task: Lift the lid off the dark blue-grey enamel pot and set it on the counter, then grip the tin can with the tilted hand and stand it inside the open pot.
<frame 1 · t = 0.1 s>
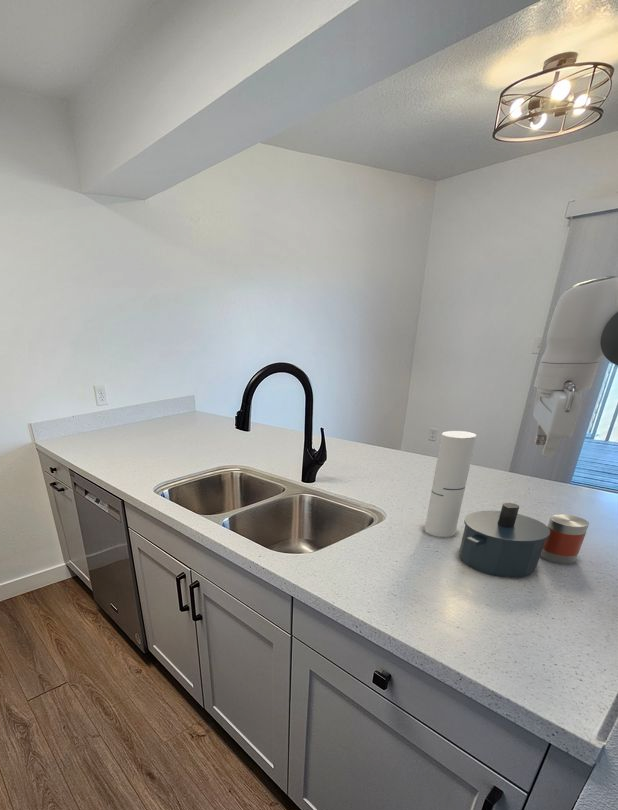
hand: (543, 450, 88), 25 cm above the worktop, tool pointing down, fingers open, 8 cm apart
can: (557, 556, 98), on the worktop
cylindrical container: (439, 531, 112), on the worktop
pot lid: (505, 526, 94), point 8 cm above the worktop, touching pot
pot: (495, 561, 97), on the worktop
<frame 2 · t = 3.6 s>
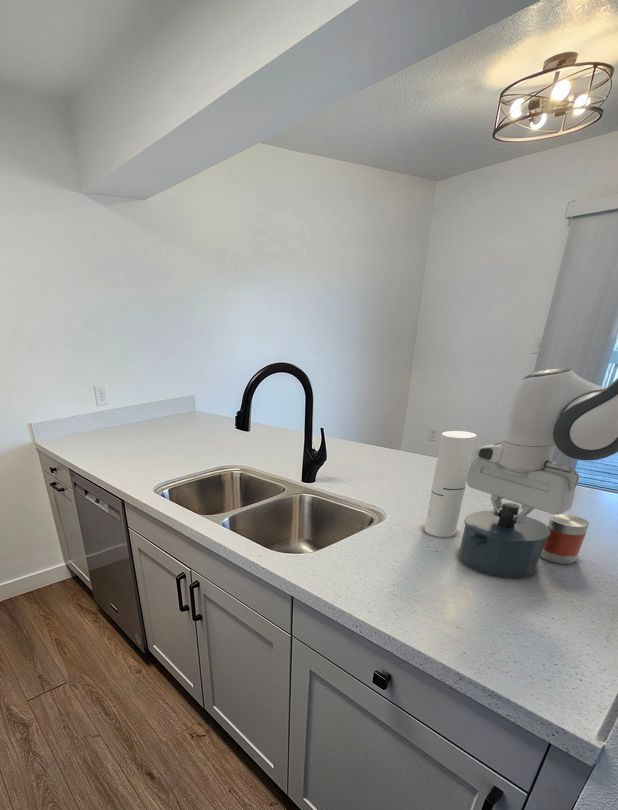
hand: (507, 518, 93), 10 cm above the worktop, tool pointing down, fingers closed on pot lid, 3 cm apart
pot lid: (505, 526, 94), point 9 cm above the worktop, touching gripper, pot
everything else where it was.
when the fingers open (2 cm above the worktop, at t = 11.5 s): pot lid stays where it is, point 1 cm above the worktop.
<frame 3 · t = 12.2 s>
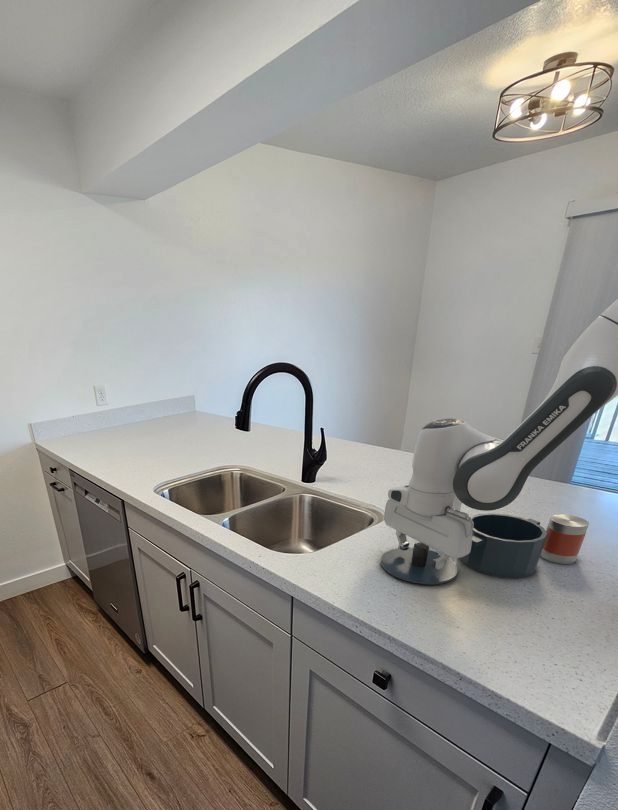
hand: (419, 558, 96), 2 cm above the worktop, tool pointing down, fingers open, 8 cm apart
pot lid: (418, 565, 96), point 1 cm above the worktop
everything else where it was.
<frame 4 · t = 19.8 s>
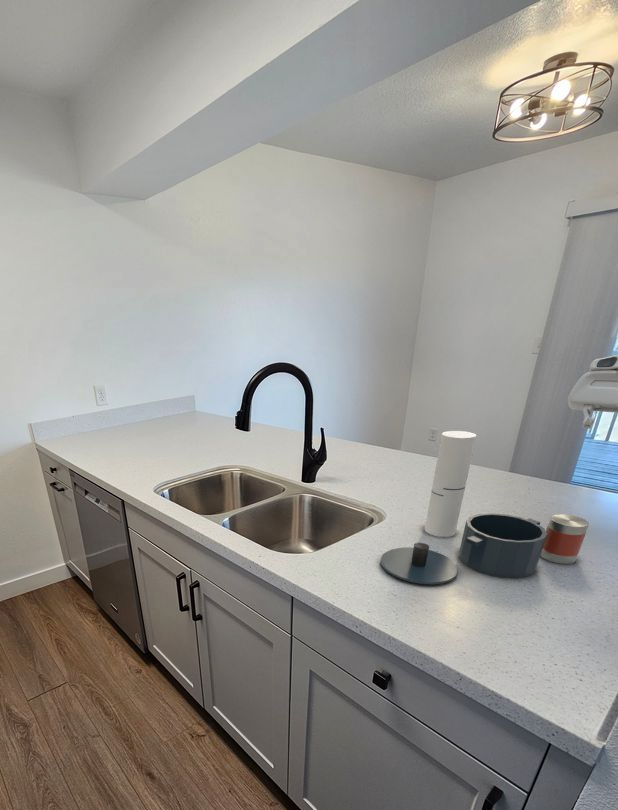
hand: (613, 429, 90), 27 cm above the worktop, tool tilted 40°, fingers open, 8 cm apart
nothing on the worktop moved.
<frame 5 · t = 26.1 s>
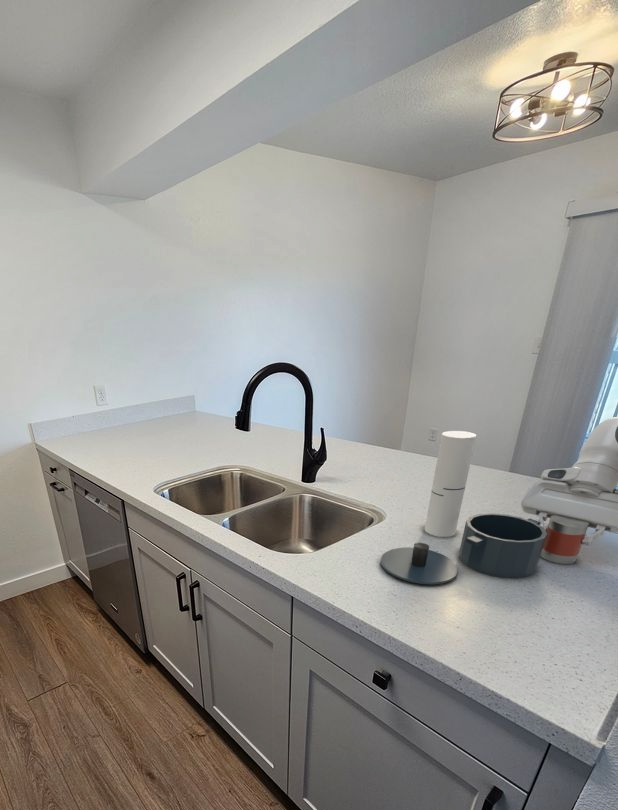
hand: (562, 538, 95), 5 cm above the worktop, tool tilted 45°, fingers closed on can, 7 cm apart
can: (557, 556, 98), on the worktop, touching gripper
everything else where it was.
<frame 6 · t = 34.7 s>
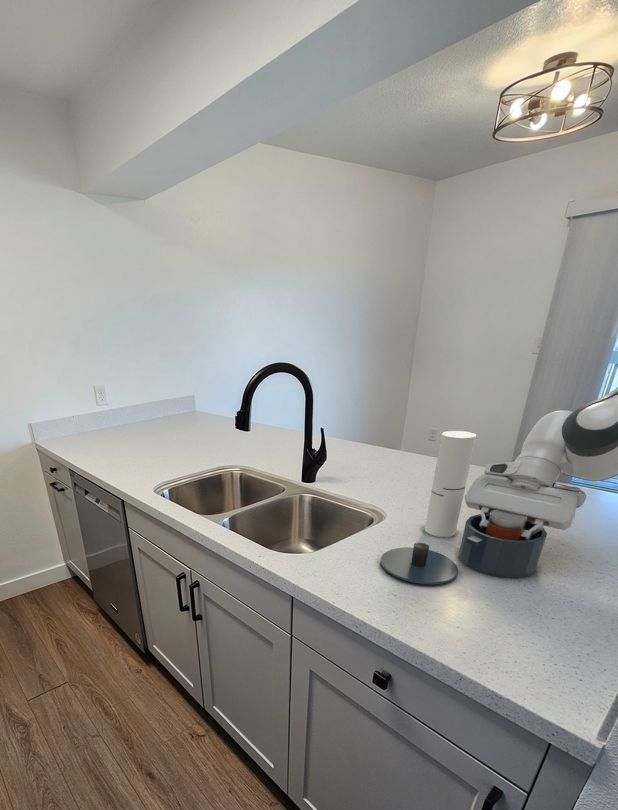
hand: (502, 533, 94), 7 cm above the worktop, tool tilted 45°, fingers closed on can, 7 cm apart
can: (498, 552, 96), point 2 cm above the worktop, touching gripper
everything else where it was.
when the fingers open (9 cm above the worktop, at t = 48.6 s): can drops 3 cm, resting on pot.
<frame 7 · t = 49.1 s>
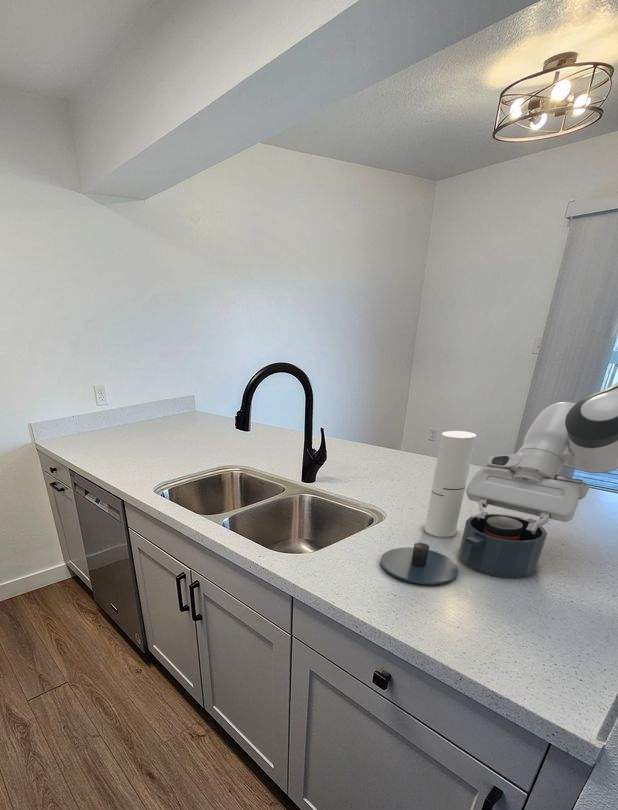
hand: (504, 526, 93), 9 cm above the worktop, tool tilted 45°, fingers open, 8 cm apart
can: (494, 559, 97), resting on pot
everything else where it was.
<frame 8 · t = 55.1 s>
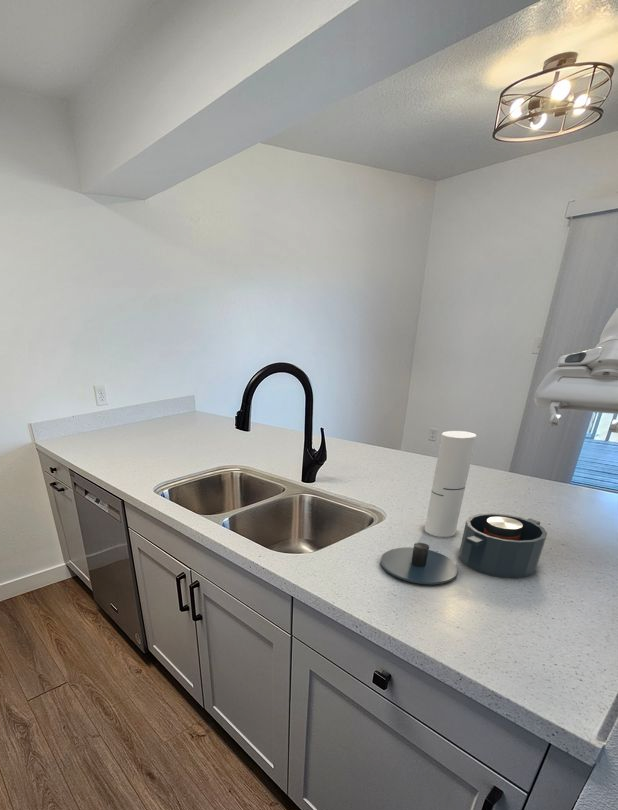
hand: (582, 427, 84), 29 cm above the worktop, tool tilted 45°, fingers open, 8 cm apart
nothing on the worktop moved.
at the end: pot lid inside the target area (0.0 cm from its centre), point 0.6 cm above the worktop; can 0.4 cm off-centre in the pot, point 0.5 cm above the pot's base; can tilted 0° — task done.
